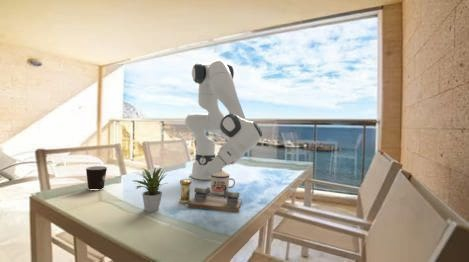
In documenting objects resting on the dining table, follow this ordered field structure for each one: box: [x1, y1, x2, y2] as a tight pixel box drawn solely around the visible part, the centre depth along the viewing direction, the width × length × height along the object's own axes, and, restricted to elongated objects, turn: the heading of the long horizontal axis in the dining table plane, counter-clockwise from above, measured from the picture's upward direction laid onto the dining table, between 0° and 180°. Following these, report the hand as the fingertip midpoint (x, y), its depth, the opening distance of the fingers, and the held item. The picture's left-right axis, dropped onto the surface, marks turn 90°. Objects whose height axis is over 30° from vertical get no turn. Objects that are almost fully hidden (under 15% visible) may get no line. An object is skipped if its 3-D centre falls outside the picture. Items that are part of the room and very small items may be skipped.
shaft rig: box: [187, 186, 243, 213], centre depth 104 cm, size 12×20×7 cm, turn 81°
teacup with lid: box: [210, 168, 236, 196], centre depth 122 cm, size 12×9×12 cm
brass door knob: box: [178, 178, 192, 205], centre depth 106 cm, size 5×5×9 cm
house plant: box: [133, 166, 168, 213], centre depth 97 cm, size 14×14×16 cm
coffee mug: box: [85, 165, 108, 190], centre depth 120 cm, size 12×9×10 cm
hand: (205, 175), depth 105 cm, fingers open, 8 cm apart
